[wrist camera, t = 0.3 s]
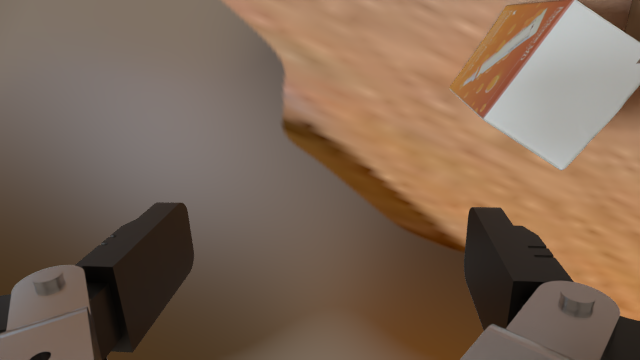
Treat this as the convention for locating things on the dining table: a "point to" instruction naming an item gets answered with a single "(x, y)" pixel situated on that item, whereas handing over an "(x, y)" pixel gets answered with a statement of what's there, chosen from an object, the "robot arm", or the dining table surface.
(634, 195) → the dining table surface
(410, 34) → the dining table surface
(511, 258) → the robot arm
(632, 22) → the walnut slab
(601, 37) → the small box
